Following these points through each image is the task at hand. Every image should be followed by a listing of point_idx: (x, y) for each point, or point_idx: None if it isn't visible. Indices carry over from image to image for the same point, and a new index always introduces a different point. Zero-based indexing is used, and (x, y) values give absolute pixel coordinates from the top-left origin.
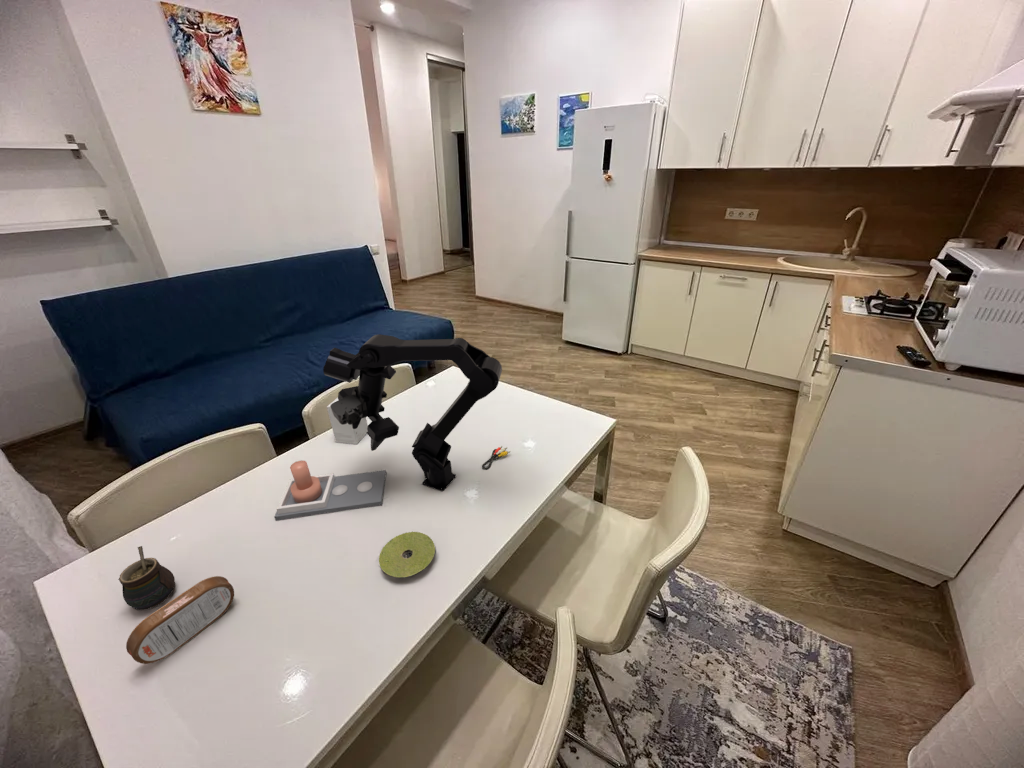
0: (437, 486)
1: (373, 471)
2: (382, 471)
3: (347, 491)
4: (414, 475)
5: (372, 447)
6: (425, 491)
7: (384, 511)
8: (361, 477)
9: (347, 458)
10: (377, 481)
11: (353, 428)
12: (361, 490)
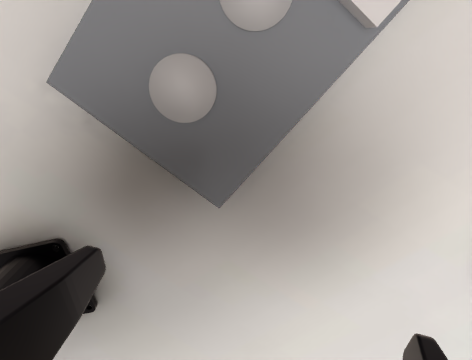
0: (5, 260)
1: (250, 173)
2: (219, 195)
3: (220, 14)
4: (129, 251)
5: (34, 273)
6: (24, 223)
7: (16, 64)
8: (257, 117)
9: (451, 157)
10: (176, 146)
11: (417, 341)
12: (167, 62)
